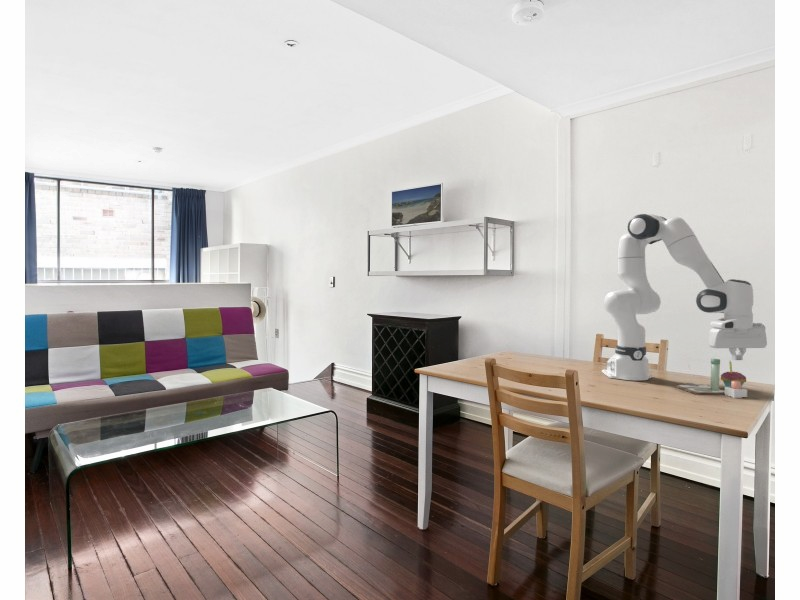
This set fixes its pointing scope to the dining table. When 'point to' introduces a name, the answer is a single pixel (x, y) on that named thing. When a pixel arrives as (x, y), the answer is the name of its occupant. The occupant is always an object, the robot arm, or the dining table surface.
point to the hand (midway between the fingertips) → (737, 360)
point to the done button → (735, 384)
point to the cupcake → (732, 377)
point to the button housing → (735, 392)
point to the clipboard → (699, 389)
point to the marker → (715, 374)
